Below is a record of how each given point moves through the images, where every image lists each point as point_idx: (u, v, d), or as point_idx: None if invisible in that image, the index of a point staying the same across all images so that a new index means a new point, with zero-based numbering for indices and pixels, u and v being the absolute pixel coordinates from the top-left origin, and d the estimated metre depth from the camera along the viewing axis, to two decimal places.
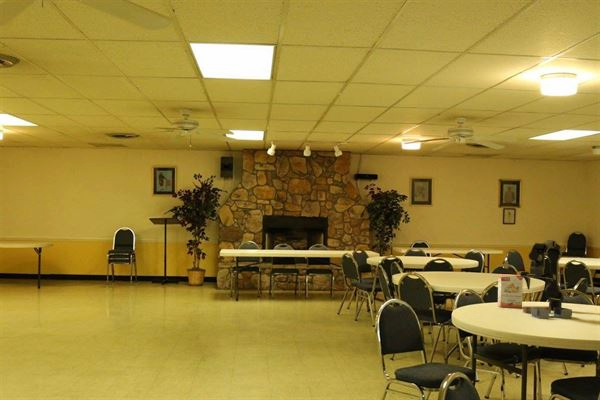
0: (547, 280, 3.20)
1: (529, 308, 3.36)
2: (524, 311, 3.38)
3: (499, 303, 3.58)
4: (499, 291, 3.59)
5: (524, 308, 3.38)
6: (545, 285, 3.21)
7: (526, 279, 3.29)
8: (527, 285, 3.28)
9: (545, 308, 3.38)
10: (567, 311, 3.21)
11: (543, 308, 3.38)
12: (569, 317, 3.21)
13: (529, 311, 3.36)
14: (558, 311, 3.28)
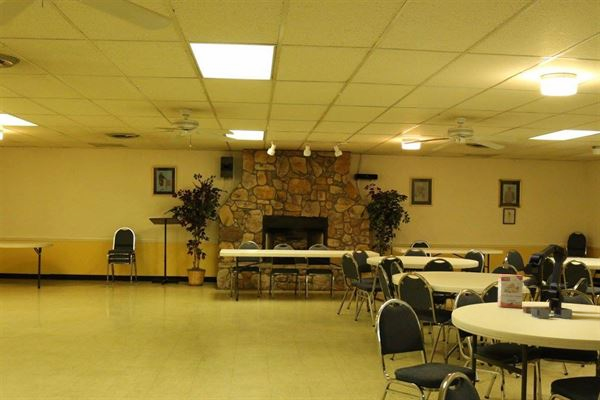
0: (539, 291, 3.33)
1: (529, 308, 3.36)
2: (524, 311, 3.38)
3: (499, 303, 3.58)
4: (499, 291, 3.59)
5: (524, 308, 3.38)
6: (540, 296, 3.34)
7: (529, 289, 3.45)
8: (531, 295, 3.44)
9: (545, 308, 3.38)
10: (567, 311, 3.21)
11: (543, 308, 3.38)
12: (569, 317, 3.21)
13: (529, 311, 3.36)
14: (558, 311, 3.28)
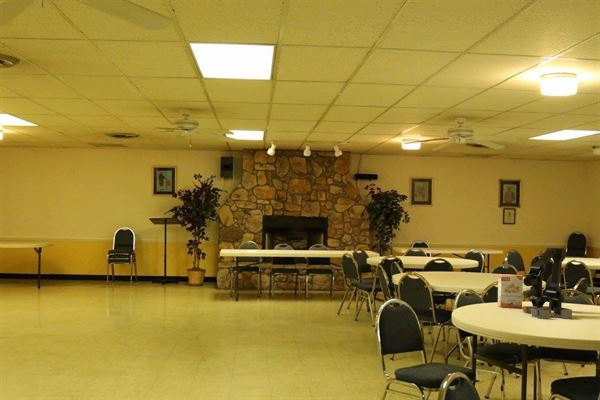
0: (537, 302, 3.35)
1: (529, 308, 3.36)
2: (524, 311, 3.38)
3: (499, 303, 3.58)
4: (499, 291, 3.59)
5: (524, 308, 3.38)
6: (537, 306, 3.36)
7: (531, 301, 3.42)
8: None
9: (545, 308, 3.38)
10: (567, 311, 3.21)
11: (543, 308, 3.38)
12: (569, 317, 3.21)
13: (529, 311, 3.36)
14: (558, 311, 3.28)
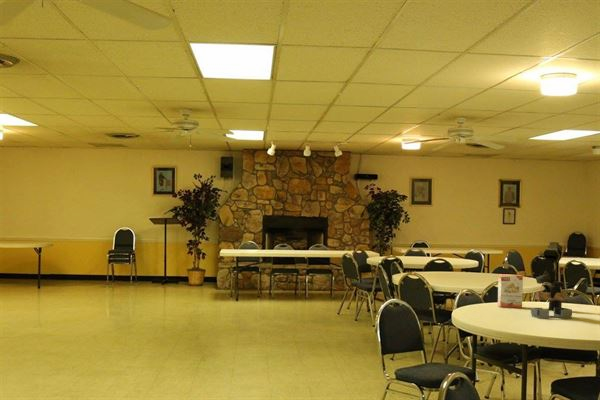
0: (550, 288, 3.21)
1: (542, 294, 3.23)
2: (537, 297, 3.24)
3: (499, 303, 3.58)
4: (499, 291, 3.59)
5: (537, 294, 3.24)
6: (551, 292, 3.22)
7: (544, 287, 3.28)
8: None
9: (559, 294, 3.24)
10: (567, 311, 3.21)
11: (557, 294, 3.24)
12: (569, 317, 3.21)
13: (542, 297, 3.22)
14: (558, 311, 3.28)
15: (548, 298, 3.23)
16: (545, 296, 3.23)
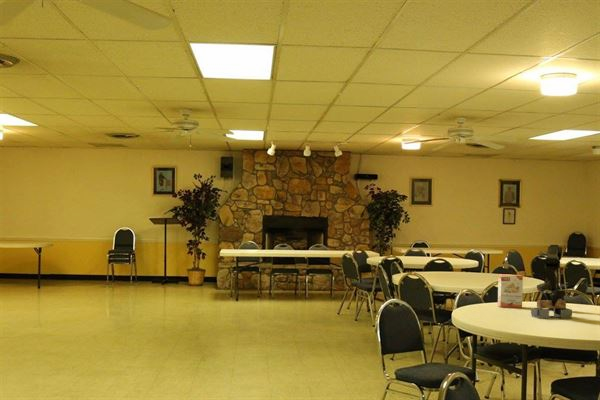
0: (551, 296, 3.20)
1: (543, 302, 3.22)
2: (538, 305, 3.23)
3: (499, 303, 3.58)
4: (499, 291, 3.59)
5: (538, 302, 3.23)
6: (552, 300, 3.22)
7: (545, 295, 3.27)
8: None
9: (560, 302, 3.23)
10: (567, 311, 3.21)
11: (558, 302, 3.23)
12: (569, 317, 3.21)
13: (543, 305, 3.22)
14: (558, 311, 3.28)
15: (549, 306, 3.22)
16: (546, 304, 3.22)
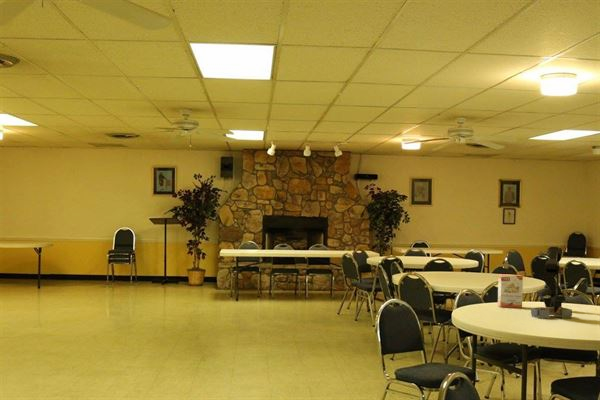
0: (553, 302, 3.18)
1: (543, 309, 3.22)
2: None
3: (499, 303, 3.58)
4: (499, 291, 3.59)
5: (538, 309, 3.23)
6: (554, 307, 3.20)
7: (543, 300, 3.29)
8: None
9: (560, 309, 3.23)
10: (567, 311, 3.21)
11: (558, 309, 3.23)
12: (569, 317, 3.21)
13: None
14: None
15: (549, 313, 3.22)
16: None
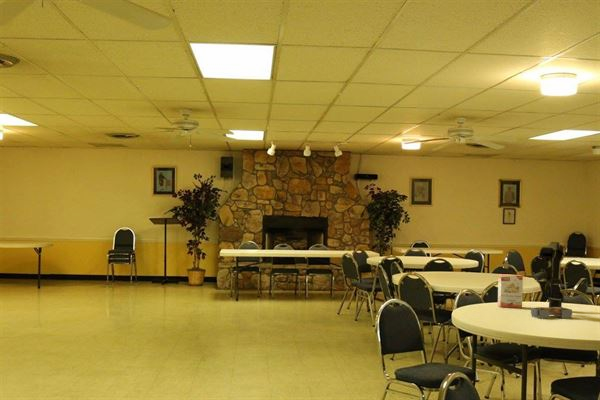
0: (550, 285, 3.27)
1: (543, 309, 3.22)
2: None
3: (499, 303, 3.58)
4: (499, 291, 3.59)
5: (538, 309, 3.23)
6: (551, 290, 3.29)
7: (539, 283, 3.39)
8: (541, 289, 3.39)
9: (560, 309, 3.23)
10: (567, 311, 3.21)
11: (558, 309, 3.23)
12: (569, 317, 3.21)
13: None
14: None
15: (549, 313, 3.22)
16: None
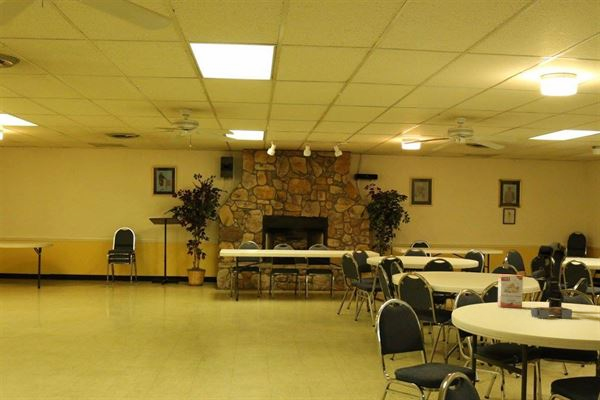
0: (548, 283, 3.30)
1: (543, 309, 3.22)
2: None
3: (499, 303, 3.58)
4: (499, 291, 3.59)
5: (538, 309, 3.23)
6: (549, 288, 3.32)
7: (538, 281, 3.42)
8: None
9: (560, 309, 3.23)
10: (567, 311, 3.21)
11: (558, 309, 3.23)
12: (569, 317, 3.21)
13: None
14: None
15: (549, 313, 3.22)
16: None
